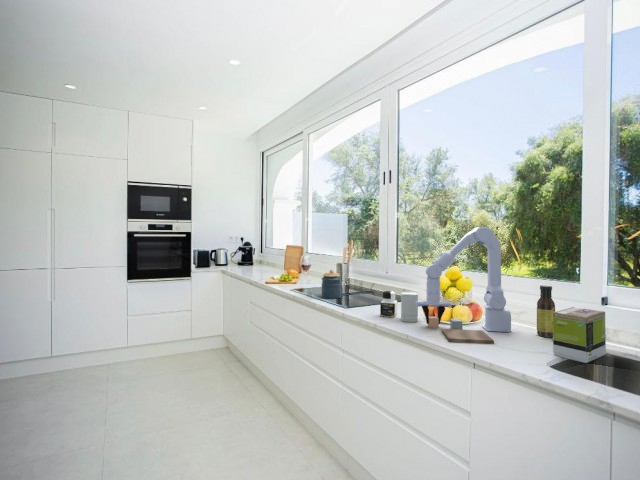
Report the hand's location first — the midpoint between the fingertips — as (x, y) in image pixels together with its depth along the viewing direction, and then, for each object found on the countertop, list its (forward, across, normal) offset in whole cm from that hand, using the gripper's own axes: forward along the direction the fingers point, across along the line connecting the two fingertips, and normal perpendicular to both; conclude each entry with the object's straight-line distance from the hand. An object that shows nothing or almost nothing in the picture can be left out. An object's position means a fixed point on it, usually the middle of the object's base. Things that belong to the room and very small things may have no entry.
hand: (433, 323), depth 156 cm
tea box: (+2, -42, +31) cm, 52 cm away
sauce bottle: (+2, -42, +8) cm, 43 cm away
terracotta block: (+1, 0, 0) cm, 1 cm away
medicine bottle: (+2, +18, -19) cm, 26 cm away
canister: (+2, +52, -67) cm, 85 cm away
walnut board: (+1, -10, +15) cm, 18 cm away
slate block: (+2, -9, +3) cm, 10 cm away
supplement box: (+2, +9, -11) cm, 14 cm away
